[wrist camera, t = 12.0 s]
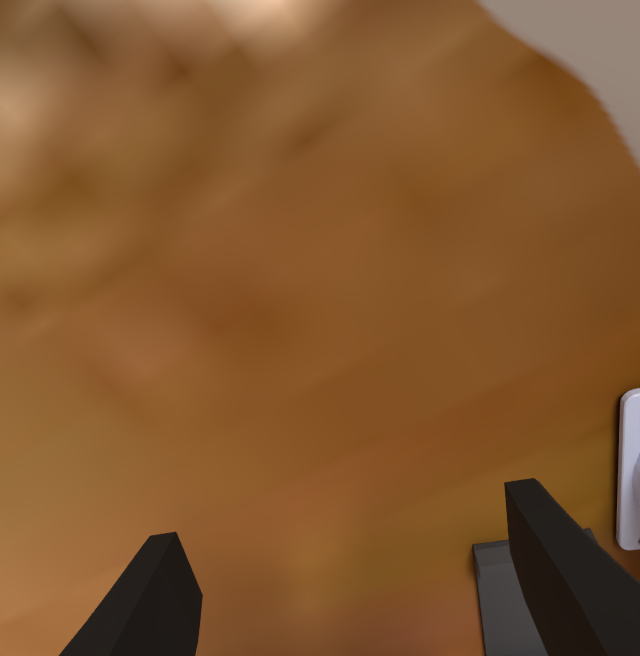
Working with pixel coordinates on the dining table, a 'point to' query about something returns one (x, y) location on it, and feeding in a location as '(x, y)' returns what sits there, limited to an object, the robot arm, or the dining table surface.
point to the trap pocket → (505, 603)
